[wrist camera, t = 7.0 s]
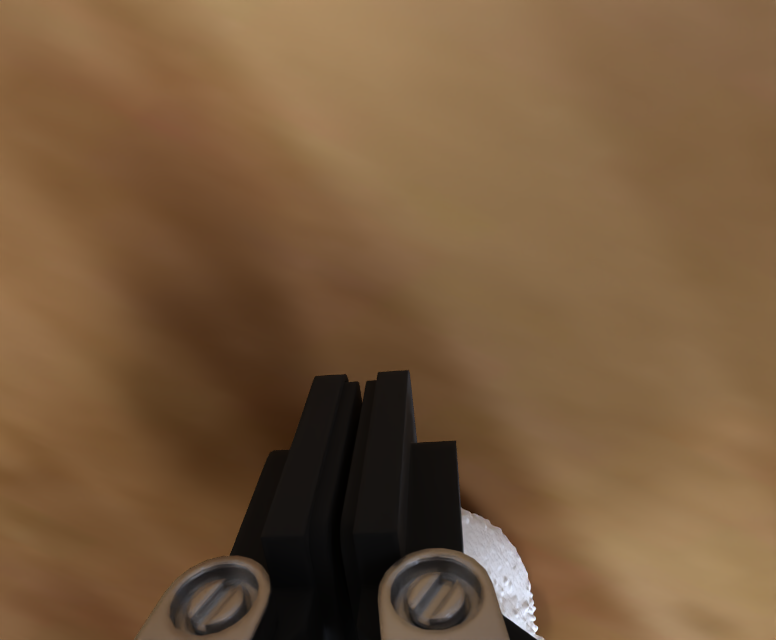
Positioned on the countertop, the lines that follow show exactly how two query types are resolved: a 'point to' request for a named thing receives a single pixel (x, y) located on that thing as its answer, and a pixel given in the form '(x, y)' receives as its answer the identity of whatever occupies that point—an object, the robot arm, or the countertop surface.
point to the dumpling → (501, 569)
